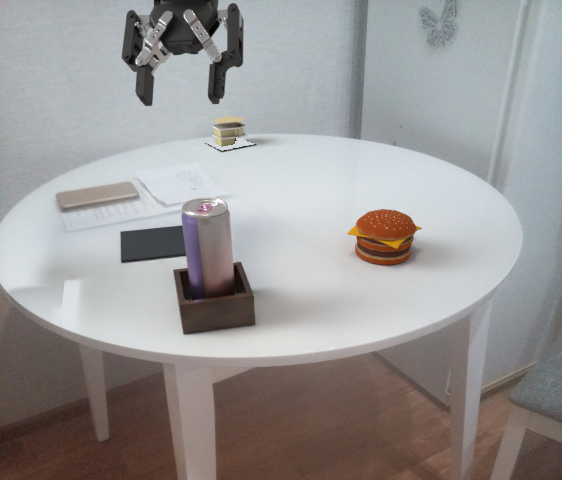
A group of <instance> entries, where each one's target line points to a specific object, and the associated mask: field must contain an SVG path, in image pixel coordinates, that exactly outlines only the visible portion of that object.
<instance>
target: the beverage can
mask: <svg viewBox="0 0 562 480" xmlns="http://www.w3.org/2000/svg"><path fill="white" fill-rule="evenodd" d="M181 211H182V212H181V217H180V218H181V225H182V226H183V234H184V242H185V250H186V256H185V257H186V258H185V259H186V266H187V267H186V268H188V275H189V283H190V291H191V298H190V299H191V300H199V299H207V298H215V297H223V296H231V295H236V293H235V283H234V268H233V263H234V256H233V240H232V239H233V238H232V226H231V225H232V224H231V213H230V211H229V205H228V203H227V201H225V200H223V199H220V198H218V197H217V198H216V197H197V198H193V199H189V200H187V201H186V202H184V204H182V206H181Z"/></svg>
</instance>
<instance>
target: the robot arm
mask: <svg viewBox="0 0 562 480" xmlns="http://www.w3.org/2000/svg"><path fill="white" fill-rule="evenodd" d="M218 8H219V0H153V7H152V9H151V11H150V13H149V14H148V15H146V14H137V13H136V11H135V10H134V9H130V10H128V11H127V13H126V17H125V24H124V34H123V41H122V49H121V50H122V51H121V59H122V61H123V62H124V63H125V64H126V66H128V68H129V69H130V70H131V71H132V72H134V73H136V76H135V95H136V96H137V98H138V99H139V100H140V102H141V103H142V104H143V105H144V106H145V107H152V106H153V99H154V86H155V76H154V73H156V70H157V69H158V68H159V67H160V66H161V64H164V63H166V61H167V60H168V59H169V58H170V56H172V55H173V56H181V55H184V54H189V55H199V52H201V51H203V50H204V51H205V53H206V54H207V56H208V57H209V58H210V59H209V60H211V62H212V63H209V68H208V81H207V82H208V84H207V98H208V100H209V101H210V103H211V105H219V104H220V100H222V99H224V97H225V94H226V81H227V80H226V79H227V72H228V70H229V69H232V68H233V67H235V68H240V67H243V64H244V34H245V33H244V32H245V31H244V27H245V26H244V25H245V24H244V23H245V21H244V17H243V15H242V12H241V10H240V9H239V6H238V4H237V3H235V2H231V3H229V5H227V8H226V9H219V10H218ZM221 24H222V26H223V27H224V29H225V32H227V33H226V50H223V51H222V52H221V51H220V50H219V49H218V46H217V45H216V44H215V42H214V40H213V39H212V38H213V36H214V35H215V33H216V32H217V31H218V29H219V28H220V26H221ZM150 29H152V31H151V32H150V34H149V35H148V32H149V30H150ZM160 43H161V44H162V46H161V47H160V48H159V44H160Z"/></svg>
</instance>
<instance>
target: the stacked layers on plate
mask: <svg viewBox="0 0 562 480" xmlns="http://www.w3.org/2000/svg"><path fill="white" fill-rule="evenodd" d="M212 121H213V122H215V123H217V124H211V127H212V128H213V134H212V136H213V137H214V140H215V143H216V144H218V145H219V146H221V147H223V146H228V145H233V144H235V141H237V140H236V138H241V137H243V138H245V137H246V133H245V131H244V130H245V127H246V124H245V123H242V122H244V121H245V118H243V117H239V116H235V115H226V116H221V117H218V118H213V119H212ZM228 150H229V149H227V151H228ZM232 150H234V149H231V150H229V151H232ZM227 151H226V152H227ZM219 152H220V153H222V152H221V151H219Z"/></svg>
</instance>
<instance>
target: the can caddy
mask: <svg viewBox="0 0 562 480" xmlns="http://www.w3.org/2000/svg"><path fill="white" fill-rule="evenodd" d="M233 268H234V283H235V295H231V296H223V297H215V298H207V299H199V300H192V299H191V291H190V283H189V275H188V267H183V268H175V269H172V272H173V278H174V286H175V292H176V299H177V304H178V311H179V316H180V322H181V329H182V334H183V335H187V334H194V333H195V334H196V333H202V332H210V331H217V330H226V329H232V328H238V327H239V328H241V327H247V326H253V325H254V326H255V325H256V313H255V310H256V309H255V295H254V292H253V289H252V287H251V284H250V281H249V278H248V276H247V273H246V271H245V267H244V266H243V263H242V261H235V262H233ZM236 293H238V294H236ZM187 299H188V300H187ZM189 299H191V300H189Z"/></svg>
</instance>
